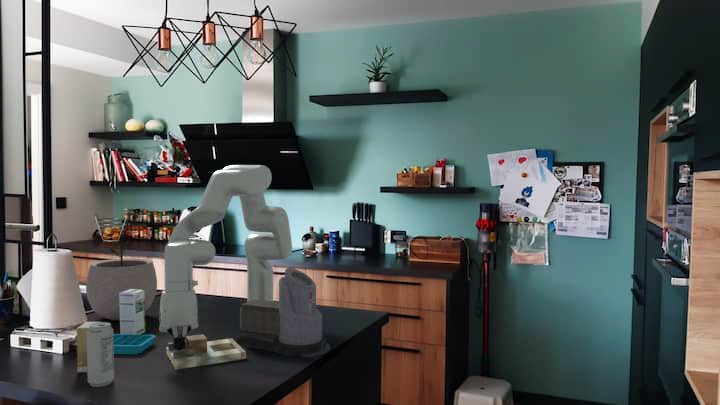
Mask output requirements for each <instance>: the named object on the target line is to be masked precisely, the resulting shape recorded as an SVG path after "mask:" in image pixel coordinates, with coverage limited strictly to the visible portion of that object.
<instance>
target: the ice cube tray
mask: <svg viewBox="0 0 720 405" xmlns="http://www.w3.org/2000/svg"><path fill="white" fill-rule="evenodd" d="M156 337H157V336H156V335H155V334H139V335H137V334H120V333H113V345H114V355H139V354H138V353H140V354H141V353H143V352H144V351H145V349H146V348H147V349H149V348H150V347H151V346H153V339H155V338H156ZM75 346H76V347H77V342H76V343H75ZM149 346H150V347H149ZM147 349H146V350H147ZM143 350H144V351H143ZM142 351H143V352H142Z"/></svg>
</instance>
